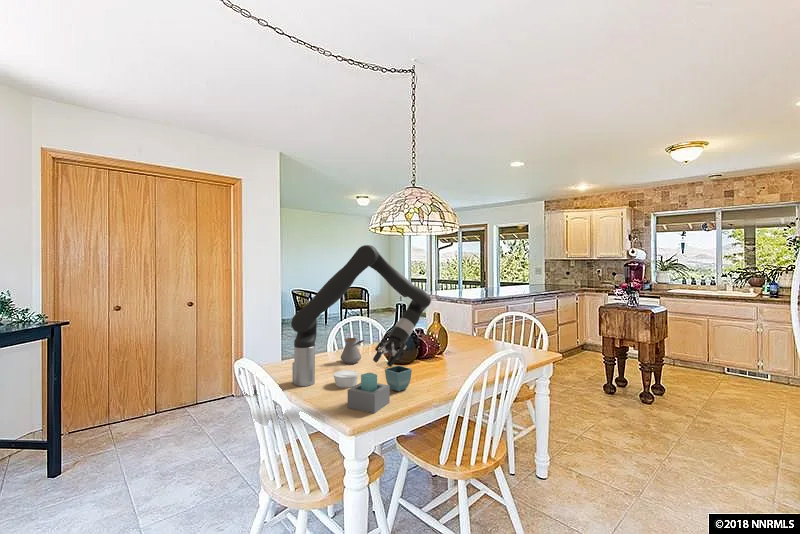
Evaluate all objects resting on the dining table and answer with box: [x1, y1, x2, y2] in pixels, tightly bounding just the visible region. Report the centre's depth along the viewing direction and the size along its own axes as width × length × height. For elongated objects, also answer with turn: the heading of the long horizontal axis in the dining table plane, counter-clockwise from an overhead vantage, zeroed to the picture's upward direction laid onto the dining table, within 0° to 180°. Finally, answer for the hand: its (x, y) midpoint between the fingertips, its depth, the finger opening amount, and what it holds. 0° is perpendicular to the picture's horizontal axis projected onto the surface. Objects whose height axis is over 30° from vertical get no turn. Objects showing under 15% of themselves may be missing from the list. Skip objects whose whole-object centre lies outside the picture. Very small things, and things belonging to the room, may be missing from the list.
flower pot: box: [384, 365, 412, 392], centre depth 172 cm, size 9×9×9 cm
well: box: [346, 382, 391, 414], centre depth 153 cm, size 12×12×7 cm
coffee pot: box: [340, 337, 366, 365], centre depth 212 cm, size 21×12×15 cm, turn 32°
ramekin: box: [333, 369, 359, 389], centre depth 178 cm, size 11×11×5 cm
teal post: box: [360, 372, 378, 392], centre depth 153 cm, size 4×4×11 cm
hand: (381, 363), depth 157 cm, fingers open, 8 cm apart
